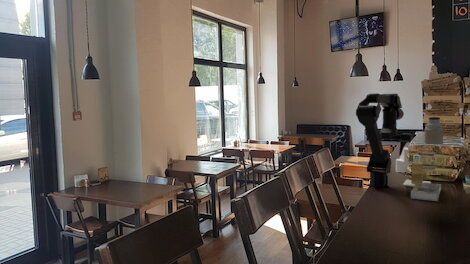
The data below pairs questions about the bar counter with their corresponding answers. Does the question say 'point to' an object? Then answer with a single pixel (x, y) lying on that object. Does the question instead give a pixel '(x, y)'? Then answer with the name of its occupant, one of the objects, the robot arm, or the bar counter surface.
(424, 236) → the bar counter surface
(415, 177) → the square peg
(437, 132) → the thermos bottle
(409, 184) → the pad
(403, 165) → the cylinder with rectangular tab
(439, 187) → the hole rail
